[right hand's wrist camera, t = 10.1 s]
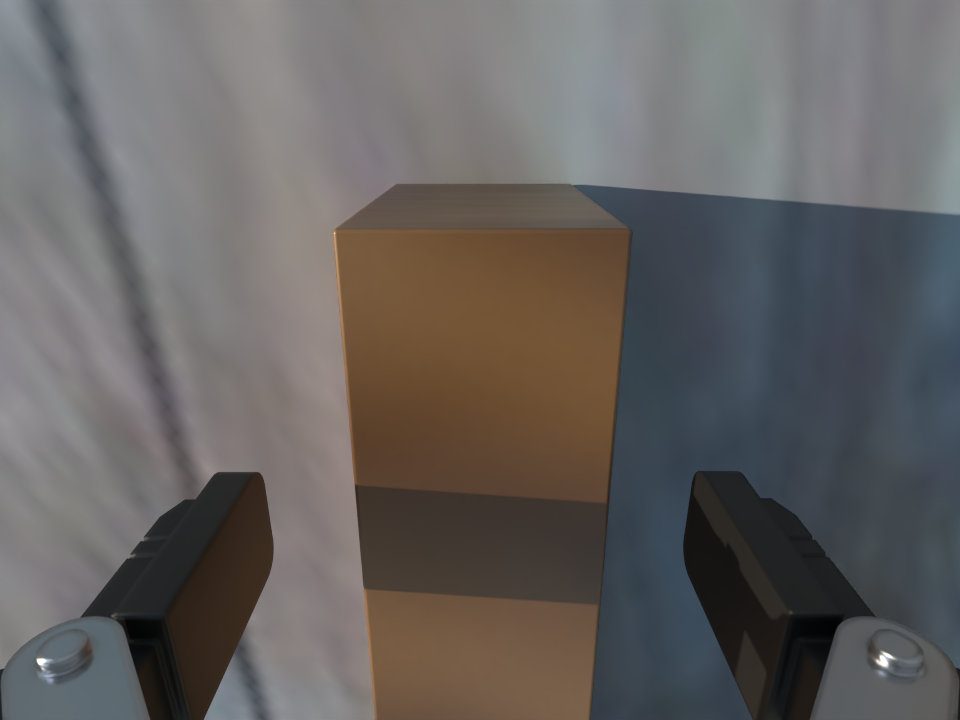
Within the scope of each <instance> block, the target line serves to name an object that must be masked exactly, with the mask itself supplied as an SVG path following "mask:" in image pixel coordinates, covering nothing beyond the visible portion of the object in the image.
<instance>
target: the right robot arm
mask: <svg viewBox="0 0 960 720" xmlns="http://www.w3.org/2000/svg"><path fill="white" fill-rule="evenodd" d="M273 548H274V547H273V536H272V530H271V523H270V516H269V510H268V503H267V497H266V490H265V484H264V480H263V477H262V475H261V474H260V473H259V472H218V473H216V474H214V476H213V477H212V478H211V479H210V481H209V482H208V483H207V485H206V486H205V488H204V489H203V490H202V492H201V493H200V494H199V496H198V497H197V498H196V500H184V501H182V502H181V503H179V504H178V505H176V506H175V507H174V508H172V509H171V510H169V511H168V512H166V513H165V514H163V515H162V516H161V517H159V519H158V520H157V521H156V522H155V524H154V525H153V526H152V528H151V529H150V530H149V531H148V533H147V534H146V535H145V536H144V541H140V543H139V544H138V545H137V546H136V548H135V549H134V550H133V552H132V553H131V554H130V559H126V560H125V562H124V563H123V564H122V565H121V567H120V568H119V569H118V571H117V572H116V573H115V574H114V576H113V577H112V578H111V579H110V581H109V582H108V583H107V584H106V586H105V587H104V588H103V590H102V591H101V592H100V593H99V595H98V596H97V597H96V598H95V600H94V601H93V602H92V603H91V605H90V606H89V607H88V608H87V610H86V611H85V612H84V614H83V615H82V616H81V617H80V618H77V619H73V620H69V621H66V622H63V623H61V624H58V625H56V626H54V627H51V628H49V629H47V630H46V631H44V632H42V633H40V634H39V635H37V636H35V637H34V638H32V639H31V640H30V641H28V642H27V643H26V644H25V645H23V646H22V647H21V648H20V649H19V650H18V651H17V652H16V653H15V654H14V655H13V656H12V658H11V659H10V660H9V661H8V663H7V665H6V666H5V668H4V669H1V670H0V720H204V718H205V715H206V713H207V711H208V709H209V707H210V704H211V702H212V700H213V698H214V696H215V693H216V691H217V689H218V687H219V685H220V682H221V680H222V678H223V676H224V674H225V671H226V669H227V667H228V665H229V663H230V660H231V658H232V656H233V654H234V652H235V649H236V647H237V645H238V643H239V641H240V638H241V636H242V634H243V632H244V630H245V627H246V625H247V623H248V621H249V619H250V616H251V614H252V612H253V610H254V608H255V605H256V603H257V601H258V599H259V597H260V594H261V592H262V590H263V588H264V586H265V583H266V581H267V579H268V577H269V574H270V571H271V567H272V561H273ZM683 551H684V561H685V566H686V570H687V573H688V576H689V578H690V580H691V583H692V585H693V587H694V589H695V591H696V594H697V596H698V598H699V600H700V603H701V605H702V607H703V609H704V612H705V614H706V616H707V618H708V620H709V623H710V625H711V627H712V629H713V632H714V634H715V636H716V638H717V640H718V643H719V645H720V647H721V649H722V652H723V654H724V656H725V658H726V660H727V663H728V665H729V667H730V669H731V672H732V674H733V676H734V678H735V680H736V683H737V685H738V687H739V689H740V692H741V694H742V696H743V698H744V701H745V703H746V705H747V707H748V709H749V712H750V714H751V716H752V718H753V720H960V669H958V668H955V666H954V665H953V663H952V661H951V660H950V659H949V658H948V656H947V655H946V654H945V653H944V652H943V651H942V650H941V649H940V648H939V647H938V646H937V645H935V644H934V643H933V642H932V641H930V640H929V639H928V638H926V637H925V636H923V635H921V634H920V633H918V632H916V631H914V630H913V629H911V628H909V627H906V626H904V625H902V624H899V623H897V622H894V621H891V620H887V619H883V618H878V617H875V616H874V614H873V613H872V612H871V610H870V609H869V608H868V607H867V605H866V604H865V603H864V602H863V600H862V599H861V598H860V596H859V595H858V594H857V593H856V591H855V590H854V589H853V587H852V586H851V585H850V584H849V582H848V581H847V580H846V579H845V577H844V576H843V575H842V573H841V572H840V571H839V570H838V568H837V567H836V566H835V564H834V563H833V562H832V561H831V559H830V558H829V557H826V556H825V552H824V550H823V549H822V548H821V547H820V545H819V544H818V543H817V542H816V540H812V535H811V534H810V533H809V531H808V530H807V529H806V527H805V526H804V525H803V524H802V522H801V521H800V520H799V519H798V517H797V516H796V515H795V514H793V513H792V512H790V511H789V510H787V509H786V508H784V507H783V506H782V505H780V504H779V503H777V502H776V501H774V500H773V499H771V498H760V497H759V496H758V494H757V493H756V491H755V490H754V489H753V487H752V486H751V485H750V483H749V482H748V480H747V479H746V478H745V476H744V475H743V474H742V473H741V472H739V471H698V472H696V474H695V475H694V478H693V481H692V487H691V494H690V501H689V508H688V514H687V521H686V528H685V534H684V544H683Z"/></svg>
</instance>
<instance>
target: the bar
mask: <svg viewBox="0 0 960 720" xmlns="http://www.w3.org/2000/svg"><path fill="white" fill-rule="evenodd" d="M333 241H334V252H335V264H336V275H337V287H338V298H339V310H340V321H341V333H342V344H343V356H344V367H345V379H346V390H347V402H348V413H349V425H350V436H351V448H352V459H353V470H354V482H355V493H356V505H357V516H358V528H359V539H360V551H361V562H362V574H363V585H364V597H365V608H366V620H367V631H368V643H369V654H370V666H371V677H372V689H373V700H374V712H375V720H591V708H592V696H593V685H594V673H595V662H596V650H597V638H598V627H599V615H600V603H601V592H602V580H603V568H604V557H605V545H606V534H607V522H608V510H609V499H610V487H611V475H612V464H613V452H614V441H615V429H616V417H617V406H618V394H619V382H620V371H621V359H622V347H623V336H624V324H625V313H626V301H627V289H628V278H629V266H630V254H631V243H632V230H631V229H630V228H629V227H627V226H626V225H625V224H623V223H622V222H621V221H619V220H618V219H617V218H615V217H614V216H612V215H611V214H610V213H608V212H607V211H606V210H604V209H603V208H602V207H600V206H599V205H598V204H596V203H595V202H594V201H592V200H591V199H590V198H588V197H587V196H586V195H584V194H583V193H582V192H580V191H579V190H578V189H576V188H575V187H574V186H572V185H571V184H396V185H394V186H393V187H392V188H390V189H389V190H388V191H386V192H385V193H384V194H382V195H381V196H379V197H378V198H377V199H375V200H374V201H373V202H371V203H370V204H368V205H367V206H366V207H364V208H363V209H362V210H360V211H359V212H358V213H356V214H355V215H353V216H352V217H351V218H349V219H348V220H347V221H345V222H344V223H343V224H341V225H340V226H338V227H337V228H336V229H334V231H333Z"/></svg>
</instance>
